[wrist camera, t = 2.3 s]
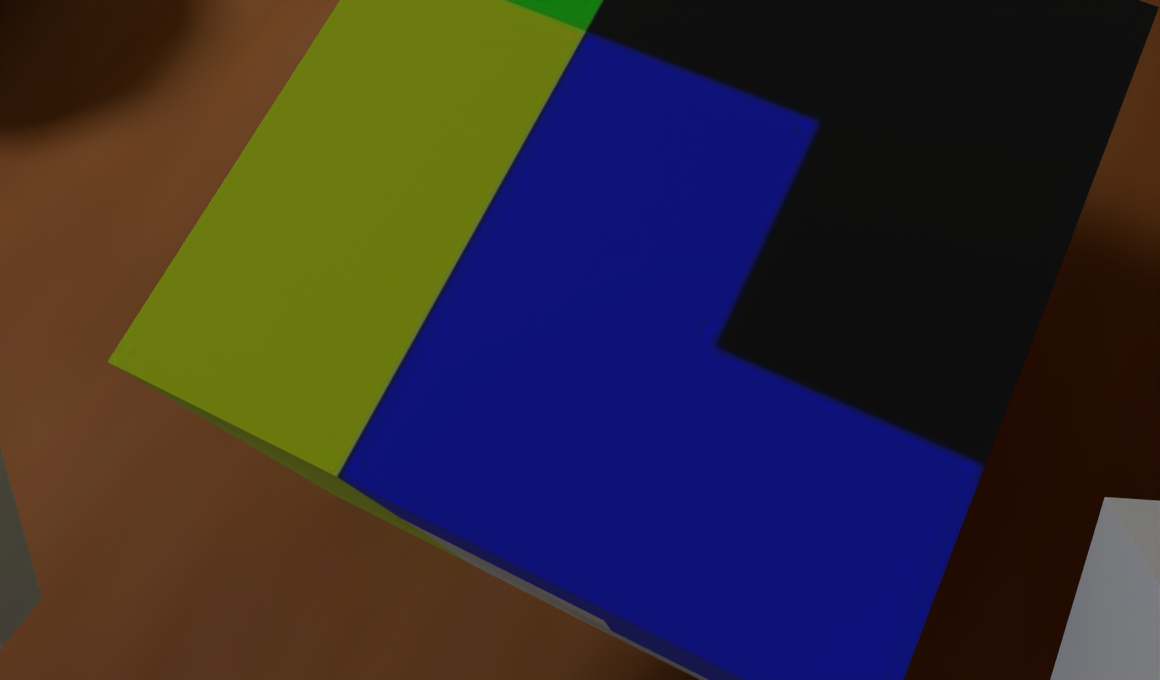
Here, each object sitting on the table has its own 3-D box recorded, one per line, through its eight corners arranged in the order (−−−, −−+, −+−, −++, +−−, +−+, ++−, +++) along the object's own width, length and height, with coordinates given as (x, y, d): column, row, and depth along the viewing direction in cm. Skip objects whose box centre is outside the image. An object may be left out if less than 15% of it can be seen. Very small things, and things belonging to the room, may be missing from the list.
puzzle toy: (768, 714, 20) (877, 748, 11) (337, 496, 22) (107, 361, 13) (944, 286, 23) (1159, 6, 13) (545, 122, 25) (482, -223, 15)
